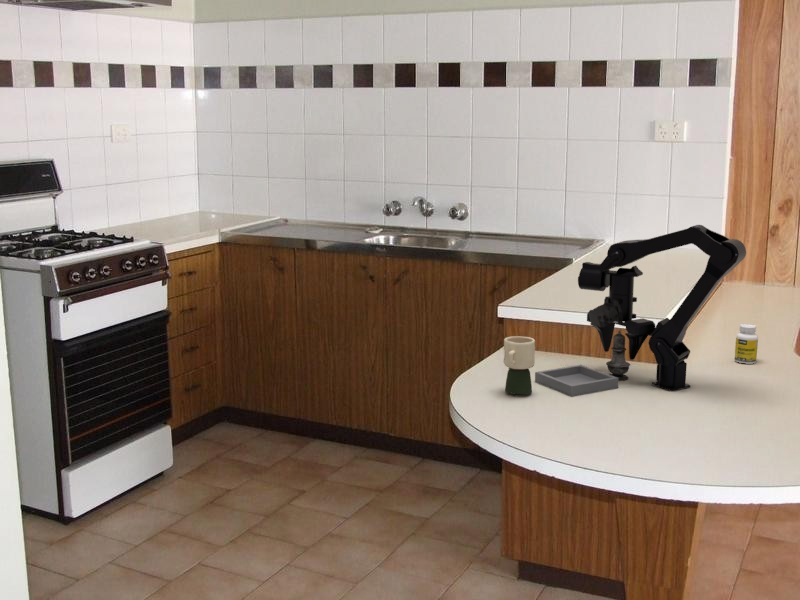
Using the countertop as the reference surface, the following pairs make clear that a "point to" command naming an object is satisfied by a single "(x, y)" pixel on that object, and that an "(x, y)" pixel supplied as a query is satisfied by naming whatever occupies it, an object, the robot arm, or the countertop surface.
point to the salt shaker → (618, 358)
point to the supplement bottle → (746, 344)
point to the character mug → (519, 363)
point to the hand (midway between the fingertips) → (619, 355)
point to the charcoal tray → (576, 380)
